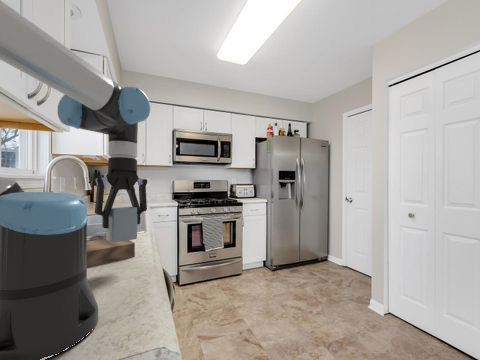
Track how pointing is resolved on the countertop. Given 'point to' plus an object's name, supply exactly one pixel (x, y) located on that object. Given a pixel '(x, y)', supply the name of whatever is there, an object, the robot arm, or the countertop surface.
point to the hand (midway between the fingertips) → (121, 237)
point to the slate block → (124, 223)
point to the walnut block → (108, 251)
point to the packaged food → (97, 236)
